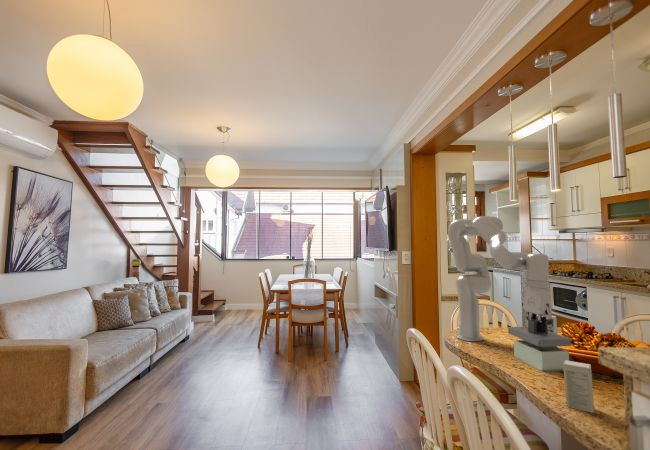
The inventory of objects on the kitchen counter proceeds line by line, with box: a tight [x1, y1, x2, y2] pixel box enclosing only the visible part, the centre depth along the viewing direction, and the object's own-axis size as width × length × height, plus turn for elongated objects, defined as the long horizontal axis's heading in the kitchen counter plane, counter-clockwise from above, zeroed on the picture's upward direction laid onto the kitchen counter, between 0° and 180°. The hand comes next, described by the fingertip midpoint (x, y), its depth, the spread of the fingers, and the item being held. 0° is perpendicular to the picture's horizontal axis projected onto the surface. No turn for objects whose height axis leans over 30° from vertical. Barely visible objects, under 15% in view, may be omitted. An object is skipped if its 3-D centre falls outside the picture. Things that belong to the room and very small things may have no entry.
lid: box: [507, 319, 572, 347], centre depth 129 cm, size 17×13×8 cm
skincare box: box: [563, 360, 595, 413], centre depth 94 cm, size 6×4×12 cm
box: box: [513, 339, 570, 373], centre depth 128 cm, size 15×11×7 cm
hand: (537, 330), depth 129 cm, fingers closed on lid, 3 cm apart
